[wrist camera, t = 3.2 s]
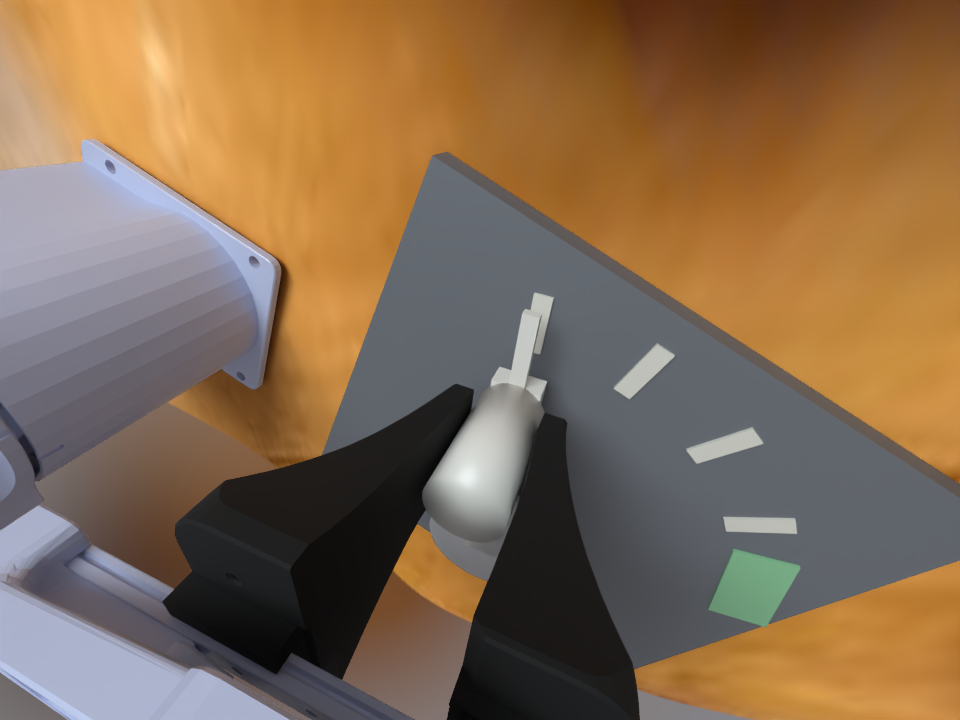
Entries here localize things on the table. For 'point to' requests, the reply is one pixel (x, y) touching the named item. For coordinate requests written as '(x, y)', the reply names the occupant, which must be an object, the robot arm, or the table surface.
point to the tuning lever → (488, 463)
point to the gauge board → (648, 426)
